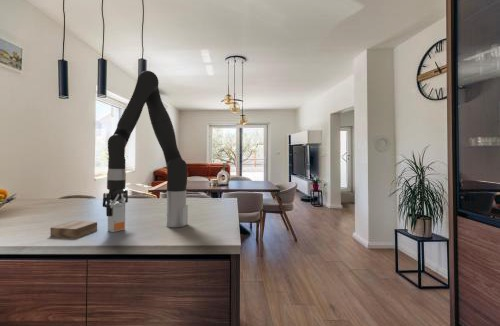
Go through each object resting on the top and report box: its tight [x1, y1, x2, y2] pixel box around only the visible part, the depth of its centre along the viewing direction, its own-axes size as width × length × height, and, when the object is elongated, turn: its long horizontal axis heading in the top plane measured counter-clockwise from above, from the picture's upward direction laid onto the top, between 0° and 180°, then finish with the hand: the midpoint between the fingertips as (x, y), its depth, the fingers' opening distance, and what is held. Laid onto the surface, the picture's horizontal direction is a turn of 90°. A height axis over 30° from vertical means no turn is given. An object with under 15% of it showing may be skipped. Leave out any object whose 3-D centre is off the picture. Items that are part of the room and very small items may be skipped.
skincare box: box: [107, 202, 126, 233], centre depth 119 cm, size 6×4×12 cm
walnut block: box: [50, 220, 98, 239], centre depth 114 cm, size 12×12×4 cm
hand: (115, 214), depth 119 cm, fingers open, 8 cm apart
